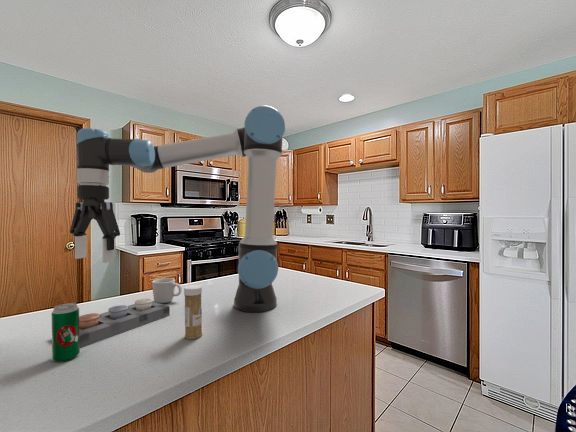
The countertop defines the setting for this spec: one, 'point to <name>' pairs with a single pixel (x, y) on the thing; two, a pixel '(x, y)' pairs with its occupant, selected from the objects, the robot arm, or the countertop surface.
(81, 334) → the button panel
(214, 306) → the countertop surface
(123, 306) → the slate button
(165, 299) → the cup
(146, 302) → the cream button
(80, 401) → the countertop surface
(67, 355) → the soda can
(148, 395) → the countertop surface
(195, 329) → the sprinkles bottle
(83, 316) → the terracotta button
